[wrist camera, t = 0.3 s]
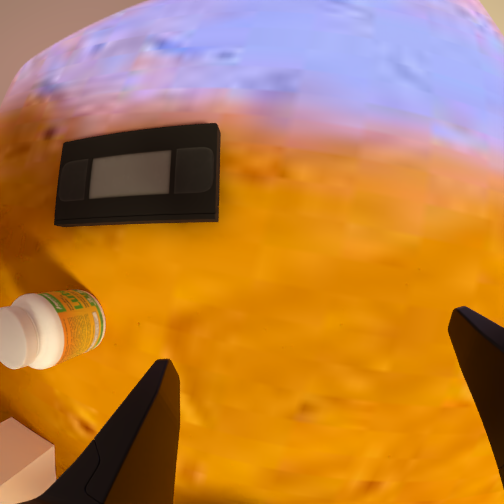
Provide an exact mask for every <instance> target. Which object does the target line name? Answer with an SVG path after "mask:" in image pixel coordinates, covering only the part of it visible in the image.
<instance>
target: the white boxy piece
mask: <svg viewBox="0 0 504 504" xmlns="http://www.w3.org/2000/svg"><path fill="white" fill-rule="evenodd" d="M55 481H56V471H55V449H54V445H53V444H52V443H50V442H48V441H47V440H45V439H44V438H42V437H40V436H39V435H37V434H36V433H34V432H33V431H31V430H30V429H28V428H27V427H25V426H24V425H23V424H21V423H20V422H18V421H17V420H15V419H14V418H13V417H11V418H9V419H7V420H5V421H3V422H1V423H0V504H17V503H21V502H25V501H29V500H32V499H34V498H36V497H38V496H40V495H41V494H43V493H44V492H45V491H46V490H47V489H48V488H49V487H50V486H51V485H52V484H53V483H54V482H55Z"/></svg>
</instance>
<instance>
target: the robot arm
mask: <svg viewBox="0 0 504 504" xmlns="http://www.w3.org/2000/svg"><path fill="white" fill-rule="evenodd" d="M448 333H449V336H450V339H451V342H452V344H453V347H454V350H455V353H456V356H457V359H458V362H459V365H460V368H461V371H462V373H463V376H464V378H465V380H466V382H467V385H468V387H469V390H470V392H471V394H472V397H473V399H474V402H475V404H476V407H477V409H478V412H479V414H480V417H481V420H482V422H483V425H484V428H485V430H486V433H487V436H488V439H489V442H490V445H491V448H492V451H493V454H494V457H495V460H496V463H497V466H498V469H499V474H500V477H501V481H502V484H503V488H504V328H503V327H501V326H500V325H498V324H496V323H494V322H493V321H491V320H489V319H487V318H486V317H484V316H482V315H480V314H479V313H477V312H475V311H473V310H471V309H470V308H468V307H466V306H461V307H458V308H455V309H454V310H453V312H452V315H451V319H450V322H449V326H448ZM179 430H180V380H179V375H178V373H177V371H176V369H175V367H174V365H173V363H172V361H171V360H170V359H158V360H156V361H155V362H154V364H153V365H152V366H151V367H150V369H149V370H148V371H147V372H146V374H145V375H144V376H143V377H142V379H141V380H140V381H139V382H138V384H137V385H136V386H135V387H134V389H133V390H132V391H131V392H130V394H129V395H128V396H127V397H126V399H125V400H124V401H123V402H122V404H121V405H120V406H119V407H118V409H117V410H116V411H115V412H114V414H113V415H112V416H111V417H110V419H109V420H108V421H107V423H106V424H105V425H104V426H103V428H102V429H101V430H100V431H99V433H98V434H97V435H96V436H95V438H94V439H95V440H94V439H93V440H92V441H91V443H90V444H89V445H88V446H87V448H86V449H85V450H84V451H83V452H82V454H81V455H80V456H79V457H78V458H77V459H76V461H75V462H74V463H73V464H72V465H71V466H70V467H69V468H68V469H67V470H66V471H65V472H64V473H63V474H62V475H61V476H60V477H59V478H58V479H57V480H56V481H55V482H54V483H53V484H52V485H51V486H50V487H49V488H48V489H47V490H46V491H45V492H44V493H43V494H41V495H40V496H38V497H36V498H34V499H32V500H29V501H25V502H21V503H17V504H173V496H174V484H175V472H176V461H177V450H178V440H179Z"/></svg>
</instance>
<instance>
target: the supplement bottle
mask: <svg viewBox="0 0 504 504" xmlns="http://www.w3.org/2000/svg"><path fill="white" fill-rule="evenodd" d="M105 327H106V323H105V316H104V312H103V310H102V307H101V305H100V304H99V302H98V301H97V300H96V298H95V297H94V296H92V295H91V294H90V293H88V292H86V291H83V290H63V291H52V292H42V293H31V294H25V295H22V296H20V297H19V298H17V299H16V300H15V301H14V302H13V304H12V305H11V306H9V307H2V308H0V361H1V362H2V363H3V364H4V365H5V366H6V367H8V368H11V369H19V368H22V367H25V366H30V367H32V368H35V369H46V368H49V367H52V366H55V365H57V364H59V363H61V362H64V361H66V360H68V359H71V358H73V357H75V356H78V355H80V354H82V353H85V352H87V351H90V350H92V349H94V348H95V347H97V346H98V345H99V343H100V342H101V341H102V339H103V336H104V333H105Z"/></svg>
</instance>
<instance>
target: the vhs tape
mask: <svg viewBox="0 0 504 504" xmlns="http://www.w3.org/2000/svg"><path fill="white" fill-rule="evenodd" d="M219 174H220V130H219V128H218V125H217V124H216V123H209V124H195V125H182V126H171V127H162V128H153V129H144V130H136V131H129V132H122V133H115V134H109V135H102V136H96V137H91V138H85V139H80V140H75V141H69V142H65V143H64V144H63V150H62V156H61V163H60V170H59V178H58V186H57V196H56V207H55V219H54V220H55V221H54V225H56V226H61V227H74V226H95V225H120V224H149V223H187V222H218V218H219V207H217V206H219Z"/></svg>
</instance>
